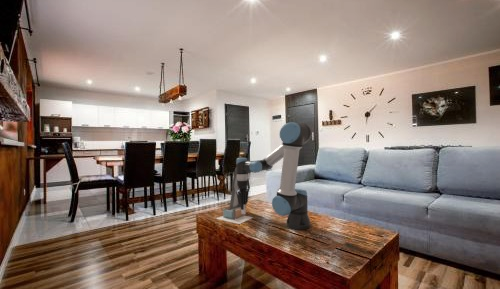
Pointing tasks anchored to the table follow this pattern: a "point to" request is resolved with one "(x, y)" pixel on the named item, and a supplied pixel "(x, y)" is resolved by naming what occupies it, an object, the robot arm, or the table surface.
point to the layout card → (236, 220)
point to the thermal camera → (234, 194)
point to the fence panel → (238, 213)
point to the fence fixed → (229, 213)
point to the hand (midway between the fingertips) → (243, 213)
